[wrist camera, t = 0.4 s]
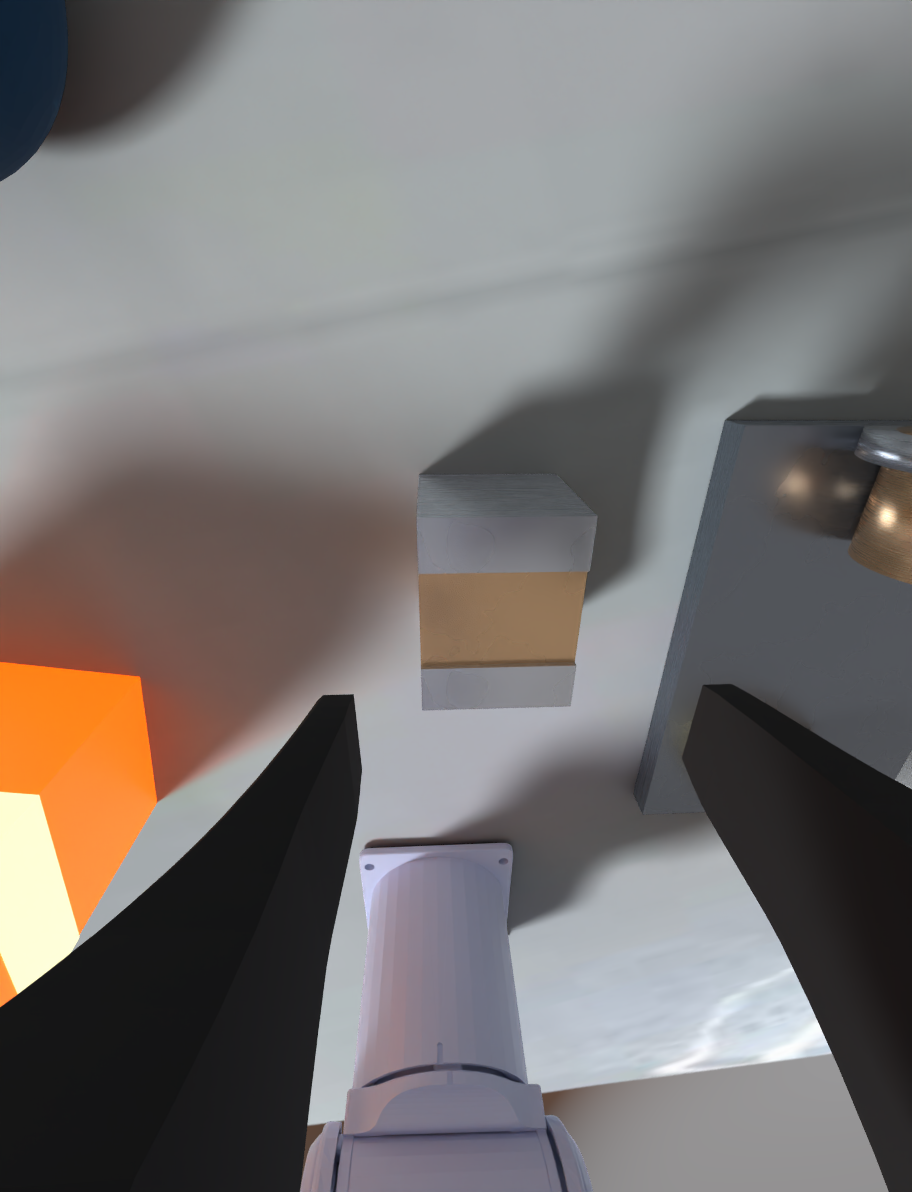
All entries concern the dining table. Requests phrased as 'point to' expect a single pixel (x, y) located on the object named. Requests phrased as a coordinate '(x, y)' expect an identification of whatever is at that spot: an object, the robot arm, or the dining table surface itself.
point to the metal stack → (796, 594)
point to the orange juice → (64, 806)
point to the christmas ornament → (30, 76)
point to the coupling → (500, 589)
